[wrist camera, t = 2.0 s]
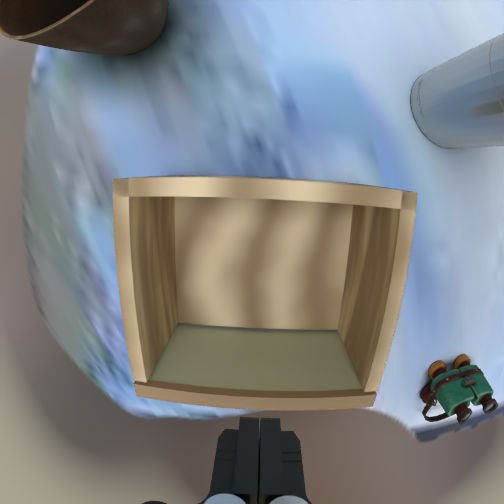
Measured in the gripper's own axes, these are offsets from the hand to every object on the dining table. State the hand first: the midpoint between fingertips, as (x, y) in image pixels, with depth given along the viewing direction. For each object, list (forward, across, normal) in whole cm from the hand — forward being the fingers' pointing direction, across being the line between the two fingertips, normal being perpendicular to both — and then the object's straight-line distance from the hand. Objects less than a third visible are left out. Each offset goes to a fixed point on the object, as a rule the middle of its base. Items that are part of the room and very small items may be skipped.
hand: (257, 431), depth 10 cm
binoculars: (+22, -28, +17) cm, 40 cm away
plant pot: (+22, +15, -27) cm, 38 cm away
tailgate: (+22, 0, +8) cm, 24 cm away
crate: (+22, 0, -1) cm, 22 cm away
